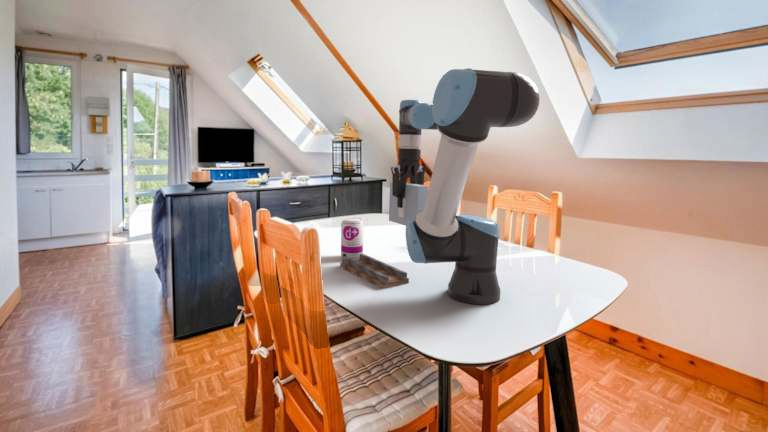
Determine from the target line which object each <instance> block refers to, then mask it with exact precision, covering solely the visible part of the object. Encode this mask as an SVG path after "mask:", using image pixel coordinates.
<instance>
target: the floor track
mask: <svg viewBox="0 0 768 432" xmlns="http://www.w3.org/2000/svg"><path fill="white" fill-rule="evenodd" d="M341 258H342V260H341V261H342V262H340V265H339V267H340V268H342V269H344V270H346V271H348V272H349V273H351V274H354V275H355V276H357V277H360V278H361V279H363V280H365V281H367V282H369V283H371V284H373V285H375V286H377V287H378V288H381V289H382V290H384V289H388V288H393V287H398V286H402V285H407V284H409V282H410V279H409V277H408V273H407V272H406V271H404V270H402V269H399V268H397V267H395V266H392V265H390V264H388V263H385V262H383V261H381V260H379V259H376V258H374V257H371V256H369V255H367V254H365V253H363V254H360V259H359V260H352V259H350V258H348V257H346V256H344V257H341Z"/></svg>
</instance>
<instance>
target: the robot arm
mask: <svg viewBox="0 0 768 432" xmlns="http://www.w3.org/2000/svg"><path fill="white" fill-rule="evenodd" d="M539 106H540V92H539V88H538V87H537V85H536V84H535V83H534V82H533V81H532V79H530V78H529V77H528V76H526V75H524V74H521V73H519V72H513V71H498V70H495V71H494V70H486V69H485V70H482V69H472V68H470V67H469V68H461V69H460V68H459V69H458V68H457V69H456V68H454V69H450V70H448V71H447V72H446V73H445V74H443V75H442V76H441V78H440V79H439V81H438V83H437V85H436V88H435V91H434V94H433V98H432V104H430V103H426V102H422V100H418V99H404V100H401V101H400V103H399V110H398V115H399V119H398V121H399V122H398V125H399V126H398V147H399V148H398V149H397V151H398V152H397V159H398V163H397V165H396V166H392V167H391V168H390V171H391V174H392V175H391V176H392V178H391V179H392V181H391V182H392V195H393V196H395V197H397V207H399V215H398V216H399V217H402V218H405V201H406V199H405V198H404V193H405V188H406V183H408V179H409V183H412V184H419V185H425V184H424V183H425V173H426V170H427V167H426V166H422V165H420V161H421V155H422V154H421V153H422V152H421V151H422V150H421V149H420V148H421V147H422V130H431V131H432V130H433V131H434V130H435V131H436V130H437V131H438V132H439V133H440V135H441V136H440V140H439V143H438V148H437V152H436V156H435V161H434V165H433V169H432V172H431V177H430V180H429V181H430V182H429V185H428V193H427V197H426V202H425V206H424V209H423V210H421V211H419V212H418V214H417V215H416V219H415V221H411V222H408V223H407V224H406V225H405V242H406V248H407V253H408V256H409V258H410V260H411V261H412V262H413V263H416V264H438V263H440V264H441V263H455V264H454V270H453V272H452V275H451V276H450V277H451V278H450V281H449V282H448V283H447V284H448V285H447V295H448V296H449V297H451V298H452V299H454V300H456V301H459V302H462V303H464V304H465V303H466V304H472V305H489V304H494V303H496V302H498V301H499V300H500V299H501V291H502V290H501V287H500V285H499V281H498V276H497V275H498V274H497V260H498V250H499V249H498V248H499V239H500V236H499V235H500V232H499V231H500V228H499V227H500V226H499V224H498V222H497V221H495V220H492V219H490V218H485V217H482V216H477V215H476V216H475V215H468V214H459V215H457V214H458V209H459V206H460V205H461V204H460V203H461V201H462V197H463V193H464V189H465V187H466V185H467V180H468V178H469V174H470V171H471V167H472V165H473V162H474V159H475V154H476V152H477V149H478V145H479V144H481V143H482V142H485V140H487V138H488V136H489V133H490V129H492V128H512V127H519V126H522V125H524V124H526V123H528V122H529V121H530V120H531V119H532V118H533V117H534V116H535V115H536V114H537V111H538V110H539ZM456 216H458V218H457V219H456V218H455V217H456ZM457 220H458V221H457Z"/></svg>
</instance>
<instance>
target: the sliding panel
mask: <svg viewBox="0 0 768 432" xmlns="http://www.w3.org/2000/svg"><path fill="white" fill-rule="evenodd" d="M428 189H429V185H425V184H424V185H419V184H412V183H410V182H407V183H406V188H405V193H404V198H405V199H406V201H405V218H402V217H399V216H398V215H399V207H397V197H395V196H393V195H392V181H390V182H389V200H388V201H389V205H388V207H389V208H388V221H389V222H392V223H396V224H399V225H403V226H406V224H407V223H408V222H411V221H415V219H416V215H417V214H418V212H419V211H421V210H423V209H424V206H425V202H426V197H427V193H428Z"/></svg>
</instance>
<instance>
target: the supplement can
mask: <svg viewBox="0 0 768 432" xmlns="http://www.w3.org/2000/svg"><path fill="white" fill-rule="evenodd" d="M340 228H341V229H340V230H341V231H340V233H341V234H340V257H341V258H342V257H344V256H346V257H348V258H350V259H352V260H359V259H360V254H364V222H363V220H362V218H359V217H345V218H343V219H342V221H341V223H340Z"/></svg>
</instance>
